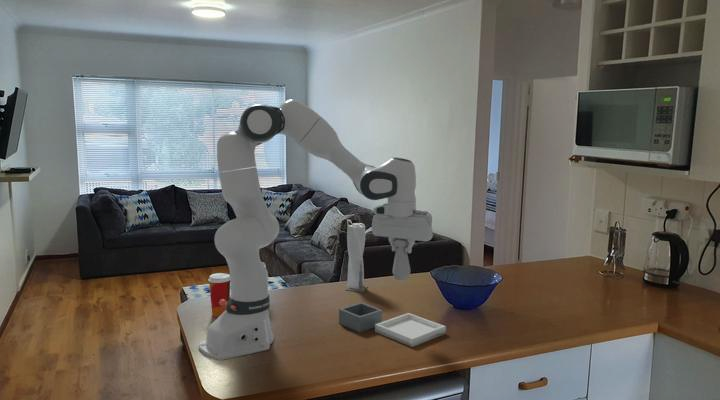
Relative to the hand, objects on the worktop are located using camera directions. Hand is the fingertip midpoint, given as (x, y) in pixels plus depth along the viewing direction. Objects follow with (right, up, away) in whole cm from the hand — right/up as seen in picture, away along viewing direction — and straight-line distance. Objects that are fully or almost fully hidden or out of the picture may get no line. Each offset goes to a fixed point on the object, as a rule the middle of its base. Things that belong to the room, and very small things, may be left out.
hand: (401, 252), depth 175 cm
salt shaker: (0, -9, +1) cm, 9 cm away
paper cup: (-62, -24, +16) cm, 68 cm away
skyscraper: (-15, -19, +47) cm, 54 cm away
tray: (+3, -26, +2) cm, 26 cm away
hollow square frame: (-13, -25, +9) cm, 30 cm away
